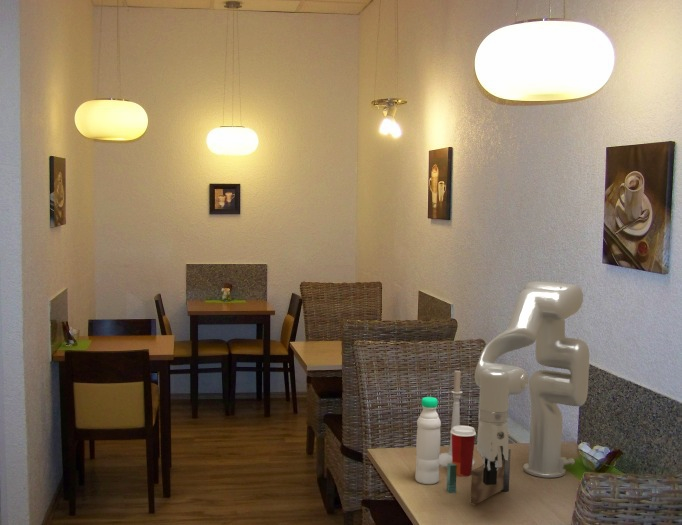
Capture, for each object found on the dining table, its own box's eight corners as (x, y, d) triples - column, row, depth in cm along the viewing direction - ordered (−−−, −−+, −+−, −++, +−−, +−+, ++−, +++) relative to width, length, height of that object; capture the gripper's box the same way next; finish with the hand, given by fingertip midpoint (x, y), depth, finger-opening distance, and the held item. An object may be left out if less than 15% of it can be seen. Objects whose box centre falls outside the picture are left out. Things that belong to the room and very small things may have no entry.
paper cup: (476, 470, 253) (478, 426, 251) (472, 478, 245) (473, 433, 244) (451, 467, 255) (453, 423, 254) (446, 475, 248) (448, 430, 247)
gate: (497, 487, 236) (499, 457, 235) (504, 489, 234) (505, 458, 234) (469, 503, 223) (470, 471, 222) (476, 504, 222) (477, 472, 221)
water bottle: (437, 486, 239) (440, 402, 236) (413, 483, 240) (416, 400, 238) (439, 477, 246) (442, 396, 243) (416, 475, 247) (419, 394, 245)
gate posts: (506, 488, 238) (508, 447, 237) (510, 491, 235) (512, 451, 234) (446, 490, 235) (447, 449, 234) (449, 493, 233) (450, 452, 232)
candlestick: (437, 454, 268) (440, 364, 266) (476, 458, 265) (480, 367, 262) (431, 466, 256) (434, 372, 253) (472, 471, 252) (475, 375, 250)
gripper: (519, 422, 210) (515, 492, 212) (493, 408, 225) (489, 474, 226) (492, 424, 208) (489, 494, 209) (468, 409, 223) (464, 475, 224)
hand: (489, 483), depth 218 cm, fingers closed
